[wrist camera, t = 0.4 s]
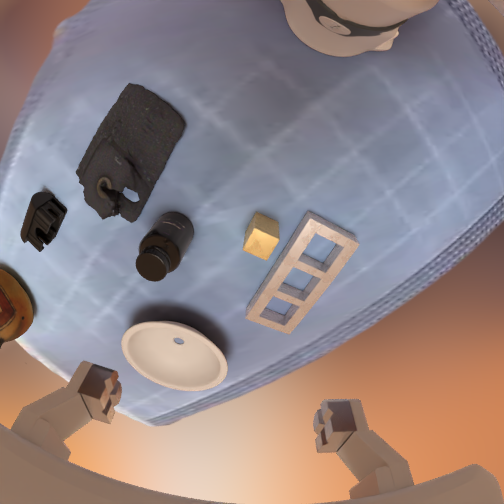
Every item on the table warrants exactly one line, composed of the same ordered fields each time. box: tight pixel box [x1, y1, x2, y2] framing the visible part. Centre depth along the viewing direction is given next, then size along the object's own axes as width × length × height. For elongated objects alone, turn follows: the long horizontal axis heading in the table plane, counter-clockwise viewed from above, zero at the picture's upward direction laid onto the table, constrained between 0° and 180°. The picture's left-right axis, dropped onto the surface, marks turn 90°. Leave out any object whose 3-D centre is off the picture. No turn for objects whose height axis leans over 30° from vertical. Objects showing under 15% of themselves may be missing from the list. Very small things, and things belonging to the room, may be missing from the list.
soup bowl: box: [122, 321, 228, 391], centre depth 60 cm, size 24×24×7 cm
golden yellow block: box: [243, 212, 280, 260], centre depth 45 cm, size 4×4×6 cm
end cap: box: [21, 192, 67, 252], centre depth 45 cm, size 10×7×7 cm
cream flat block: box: [245, 211, 359, 334], centre depth 50 cm, size 23×10×3 cm, turn 154°
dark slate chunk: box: [76, 83, 184, 223], centre depth 40 cm, size 15×22×5 cm
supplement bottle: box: [136, 212, 194, 282], centre depth 43 cm, size 7×7×12 cm
